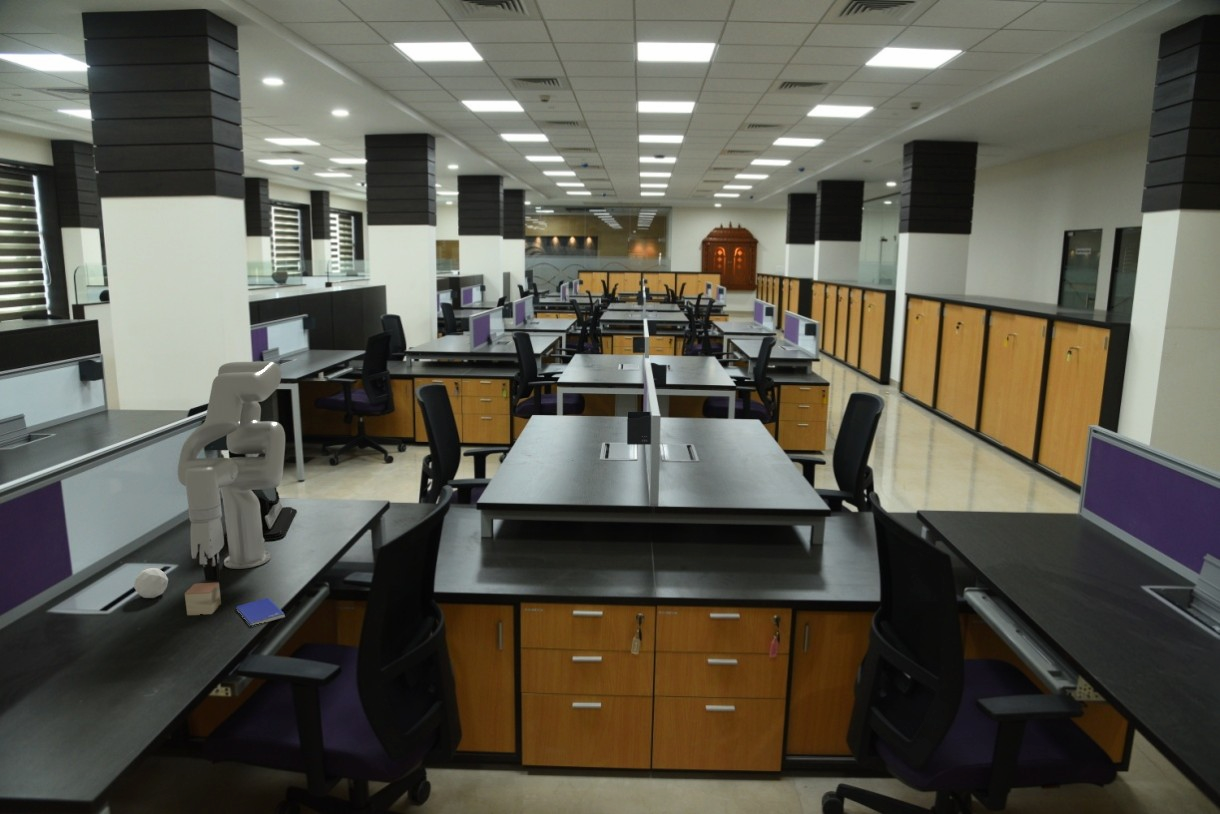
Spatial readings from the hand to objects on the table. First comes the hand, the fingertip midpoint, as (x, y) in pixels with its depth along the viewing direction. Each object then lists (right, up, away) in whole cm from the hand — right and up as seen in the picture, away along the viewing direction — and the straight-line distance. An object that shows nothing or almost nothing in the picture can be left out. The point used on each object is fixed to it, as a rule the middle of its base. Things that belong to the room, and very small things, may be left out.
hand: (212, 579), depth 206 cm
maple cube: (+1, -7, -6) cm, 9 cm away
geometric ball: (-17, -5, +2) cm, 18 cm away
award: (-12, +5, +55) cm, 57 cm away
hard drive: (+16, -8, -8) cm, 20 cm away
